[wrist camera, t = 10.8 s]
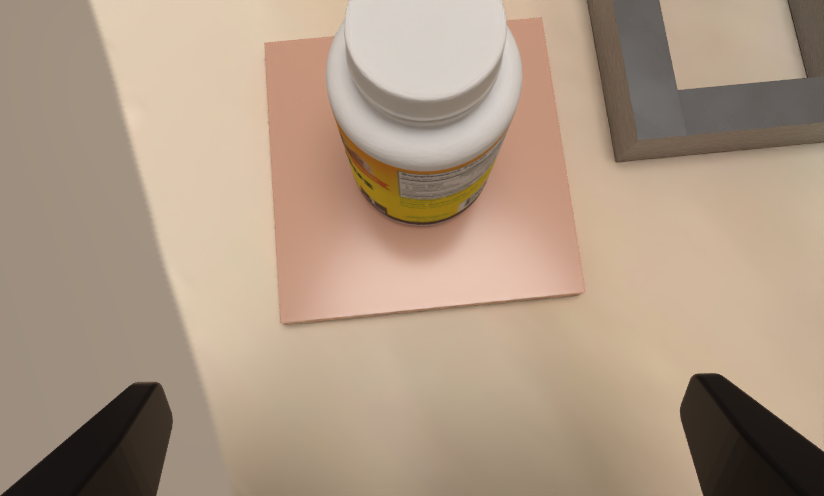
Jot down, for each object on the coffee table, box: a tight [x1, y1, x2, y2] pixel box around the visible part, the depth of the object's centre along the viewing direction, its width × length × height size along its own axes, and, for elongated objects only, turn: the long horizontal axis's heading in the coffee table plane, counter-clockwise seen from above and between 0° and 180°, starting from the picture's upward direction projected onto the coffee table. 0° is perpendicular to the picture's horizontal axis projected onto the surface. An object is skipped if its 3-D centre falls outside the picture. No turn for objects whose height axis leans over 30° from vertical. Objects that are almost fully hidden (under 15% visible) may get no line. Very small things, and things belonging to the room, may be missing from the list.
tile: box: [264, 17, 586, 325], centre depth 24 cm, size 12×12×1 cm
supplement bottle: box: [326, 0, 523, 226], centre depth 19 cm, size 6×6×10 cm
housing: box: [587, 0, 824, 162], centre depth 25 cm, size 11×11×2 cm
